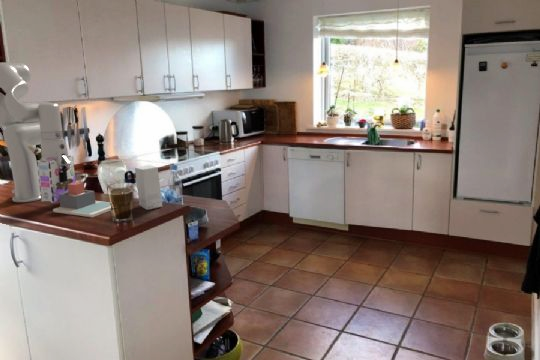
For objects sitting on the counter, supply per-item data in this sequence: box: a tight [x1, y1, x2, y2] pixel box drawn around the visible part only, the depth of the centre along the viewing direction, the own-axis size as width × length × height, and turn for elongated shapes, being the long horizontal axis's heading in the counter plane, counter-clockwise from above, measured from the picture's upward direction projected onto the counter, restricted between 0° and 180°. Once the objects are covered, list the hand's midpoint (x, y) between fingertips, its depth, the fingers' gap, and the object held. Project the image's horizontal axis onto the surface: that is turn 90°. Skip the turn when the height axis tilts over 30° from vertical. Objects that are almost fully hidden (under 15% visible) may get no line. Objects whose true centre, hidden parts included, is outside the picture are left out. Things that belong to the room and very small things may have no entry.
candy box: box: [36, 154, 77, 204], centre depth 180 cm, size 14×6×16 cm, turn 163°
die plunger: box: [67, 181, 85, 196], centre depth 177 cm, size 6×6×8 cm
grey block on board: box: [52, 189, 112, 218], centre depth 176 cm, size 20×15×6 cm
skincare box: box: [134, 164, 163, 211], centre depth 175 cm, size 8×7×16 cm
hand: (57, 180), depth 180 cm, fingers closed on candy box, 6 cm apart
